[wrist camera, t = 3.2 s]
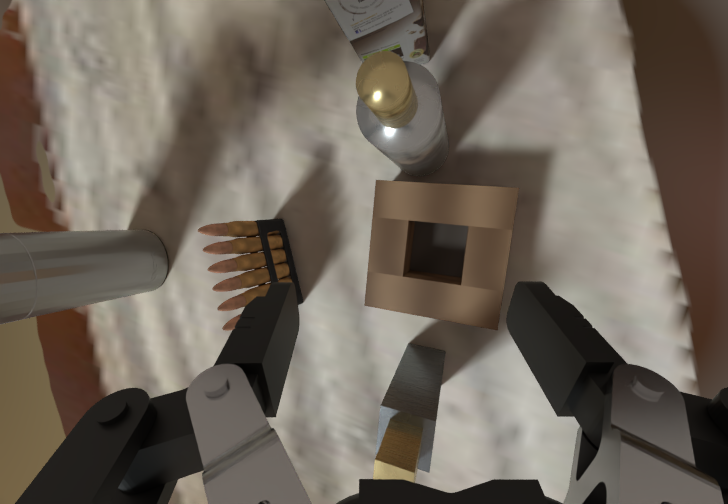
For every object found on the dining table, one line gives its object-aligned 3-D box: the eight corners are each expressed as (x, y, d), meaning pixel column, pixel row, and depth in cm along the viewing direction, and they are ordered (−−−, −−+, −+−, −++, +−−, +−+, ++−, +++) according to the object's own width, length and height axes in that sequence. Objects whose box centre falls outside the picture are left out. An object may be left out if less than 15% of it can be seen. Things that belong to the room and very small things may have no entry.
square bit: (404, 376, 34) (358, 501, 19) (408, 343, 33) (363, 443, 18) (440, 385, 33) (422, 526, 18) (445, 351, 32) (430, 465, 17)
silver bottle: (391, 174, 32) (328, 133, 17) (397, 120, 32) (336, 27, 16) (445, 177, 31) (427, 134, 15) (452, 120, 30) (441, 16, 15)
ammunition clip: (270, 222, 38) (187, 222, 26) (283, 218, 37) (203, 217, 26) (291, 305, 38) (217, 340, 26) (303, 302, 37) (233, 338, 26)
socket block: (378, 293, 34) (364, 305, 29) (388, 186, 32) (376, 180, 28) (491, 313, 30) (497, 330, 26) (509, 193, 29) (519, 187, 24)
